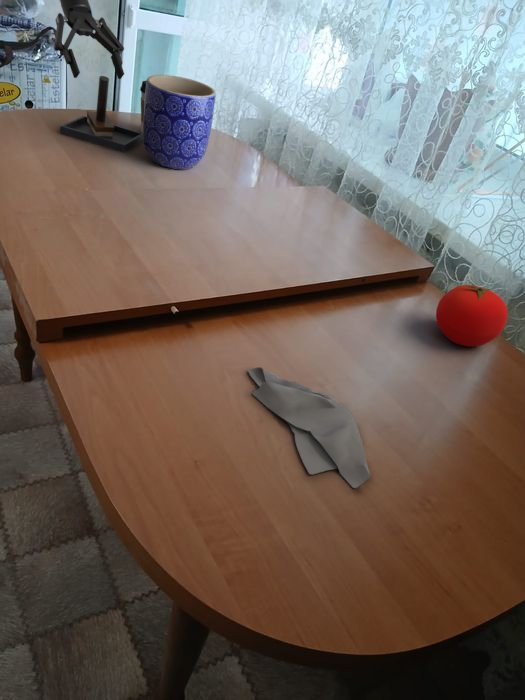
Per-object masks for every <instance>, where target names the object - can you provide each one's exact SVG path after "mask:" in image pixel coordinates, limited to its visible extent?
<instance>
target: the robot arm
mask: <svg viewBox="0 0 525 700" xmlns="http://www.w3.org/2000/svg"><path fill="white" fill-rule="evenodd" d="M58 1H59V3H60V7H61V10H62V13H61V12H59V13H57V15H56V18H55V24H56V28H55V29H56V30H55V36H54V44H53V50H54V51H55V52H59V54H60V55H61V56H63V58H64V61H65V63H66V64H67V65H68V66H69V67H70V71H71V74H72V76H73V78H74V79H77V78H78V76H79V75H80V74H81V71H80V68H79V66H78V63H77V60H76V57H75V55H74V51H73V48H69V47H70V46H71V44H72V41H73V40H74V38H75V36H76V35H78V36H80V37H82V36H84V37H91V38H92V39H93V40H96V41H97V42H98V43H99V44H100V45H101V46H102V47H103V48H104V49H105V50H106V51H107V52H109V54H110V55H111V56H110V59H111V62H112V65H113V68H114V71H115V73H116V77H117V79H118V80H121V79H122V78H123V77H124V75H125V70H124V69H123V59H122V57H121V54H122V53H123V52H124V51H125V47H124V45H123V44H122V43H121V42H120V40H119V39H118V38H117V36H116V35H115V33H114V32H113V31H112V29H111V28H110V27H109V26H108V24H107V22H106V20H105V18H104V17H102V16H101V17H99V19H96V18H94V17H93V12H92V7H91V4H90V1H89V0H58ZM65 25H67V26H68V27H69V28H70V31H69V33H68V35H67V37H66V39H65V42H64V43H62V41H63V34H64V29H65V28H64V27H65Z"/></svg>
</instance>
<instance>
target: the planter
mask: <svg viewBox="0 0 525 700" xmlns="http://www.w3.org/2000/svg"><path fill="white" fill-rule="evenodd" d="M145 81H146V90H145V102H144V120H143V139H144V141H143V145H144V148H145V151H146V152H147V155H148V156H149V158H150V159H151V160H152V161H153V162H154V163H156V164H158V165H159V166H162V167H163V168H167V169H172V170H190V169H192V168H194V167H196V166H197V165H198V164H199V163H200V162H201V161H202V160H203V158H204V157H205V155H206V152H207V149H208V146H209V140H210V136H211V131H212V124H213V119H214V111H215V106H216V105H215V104H216V98H217V97H216V96H217V93H216V91H215V89H214V88H213V87H211V86H209V85H207V84H205V83H204V82H201V81H198V80H194V79H192V78H187V77H184V76H183V77H182V76H176V75H171V74H155V75H150V76H148V77H147V78H146V80H145Z"/></svg>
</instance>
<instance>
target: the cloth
mask: <svg viewBox="0 0 525 700" xmlns="http://www.w3.org/2000/svg"><path fill="white" fill-rule="evenodd" d="M247 373H248V374H249V376H250V378H251V380H253V382H255V384H256V385H257V386H258V388H257V389H256V390H254V391H253V392H252V394H251V395H253V396H254V398H256V399H257V400H258V401H259V402H260V403H261V404H262V405H263V406H265V407H266V408H267V409H268V410H269V411H271V412H273V413H274V414H275V415H276V416H277V417H279V418H281V419H282V420H283V421H285V423H286V424H287V425H288V426H289V427H290V430H291V432H292V433H293V434H294V442H295V447H296V449H297V452H298V455H299V457H300V460H301V461H302V465H303V466H304V468H305V469H306V471H307V474H308V475H310V476H314V475H317V474H321V473H324V472H328V471H334V470H338V473H339V475H340V476H341V477H342V478H343V479H344V480H345V481H346V482H347V484H348V485H349V486H350V487H351V488H352V489H355V490H356V489H358V488H359V487H360V486H362V485H363V484H364V483H365V482H367V481H368V480H369V479H370V478H371V472H370V469H369V465H368V462H367V457H366V453H365V449H364V445H363V440H362V438H361V433H360V430H359V427H358V424H357V421H356V418H355V416H354V413H353V412H352V410H351V409H350V408H349V406H348V405H347V404H345V403H340V402H338V400H336V399H335V398H334V397H332V396H329V395H327V394H325V393H321V392H320V391H319V392H318V391H317V390H314V389H312V388H309V387H308V386H305V385H304V384H303V385H302V384H300V383H298V382H296V381H292V380H288V379H285V378H281V377H279V376H278V375H277V374H275V373H273V372H270V371H269V370H266V369H264V368H263V367H261V366H257V367H254V368H253V367H252V368H251V369H249V370H247Z"/></svg>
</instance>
